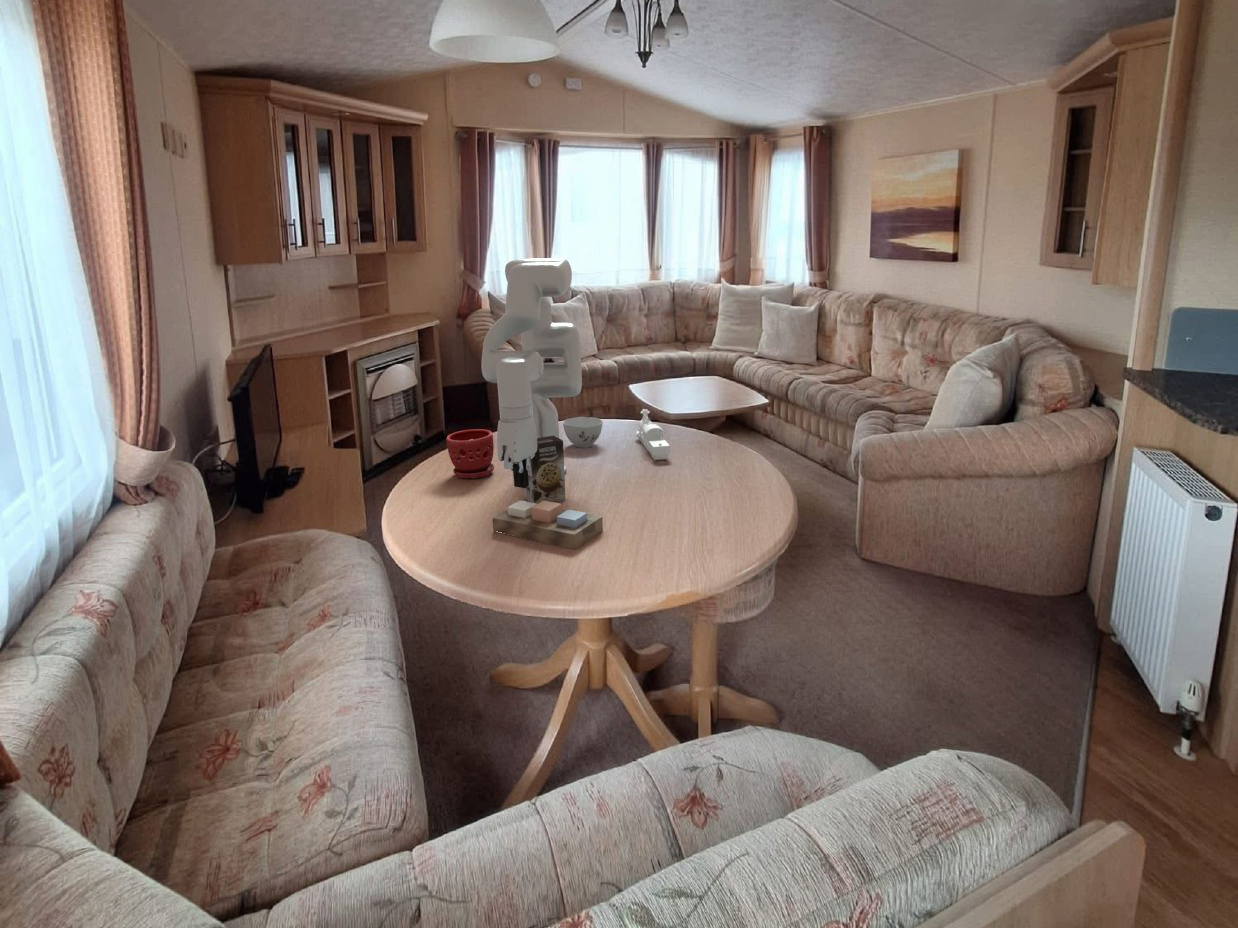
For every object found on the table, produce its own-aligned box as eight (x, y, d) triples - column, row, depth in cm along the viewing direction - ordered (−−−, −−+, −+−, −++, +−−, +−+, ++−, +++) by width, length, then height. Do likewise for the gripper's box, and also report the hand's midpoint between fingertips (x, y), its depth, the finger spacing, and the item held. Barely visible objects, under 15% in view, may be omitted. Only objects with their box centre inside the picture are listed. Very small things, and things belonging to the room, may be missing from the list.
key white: (508, 520, 193) (507, 507, 192) (521, 513, 198) (520, 500, 197) (525, 524, 191) (524, 510, 190) (537, 517, 195) (537, 503, 194)
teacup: (606, 449, 254) (605, 424, 251) (566, 452, 252) (565, 427, 249) (599, 436, 268) (598, 413, 265) (561, 439, 266) (560, 415, 264)
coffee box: (534, 506, 208) (530, 445, 203) (525, 498, 213) (521, 439, 208) (566, 499, 212) (563, 440, 207) (557, 492, 217) (553, 434, 212)
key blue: (557, 530, 187) (556, 516, 186) (569, 523, 191) (568, 509, 190) (575, 534, 184) (575, 520, 183) (587, 526, 188) (586, 512, 187)
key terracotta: (532, 521, 190) (531, 507, 189) (544, 514, 194) (543, 500, 193) (550, 524, 187) (549, 510, 186) (562, 517, 191) (561, 503, 190)
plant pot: (495, 465, 241) (492, 426, 238) (496, 479, 229) (493, 438, 225) (450, 469, 239) (446, 429, 235) (449, 483, 227) (445, 442, 223)
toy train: (651, 434, 269) (651, 404, 266) (672, 461, 241) (672, 428, 238) (632, 436, 268) (631, 406, 265) (651, 463, 240) (650, 430, 237)
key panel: (493, 531, 192) (492, 517, 191) (523, 515, 202) (522, 501, 201) (575, 549, 181) (574, 534, 180) (602, 530, 191) (602, 516, 190)
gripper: (522, 402, 194) (527, 474, 200) (482, 418, 182) (489, 494, 188) (548, 405, 191) (552, 478, 197) (509, 422, 178) (515, 499, 185)
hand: (521, 486), depth 192 cm, fingers closed
